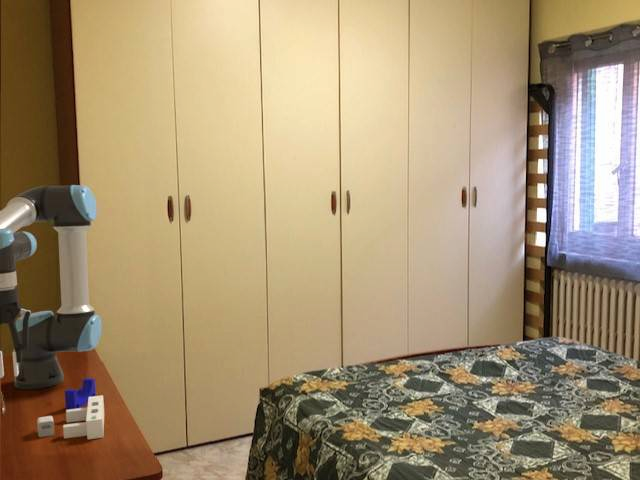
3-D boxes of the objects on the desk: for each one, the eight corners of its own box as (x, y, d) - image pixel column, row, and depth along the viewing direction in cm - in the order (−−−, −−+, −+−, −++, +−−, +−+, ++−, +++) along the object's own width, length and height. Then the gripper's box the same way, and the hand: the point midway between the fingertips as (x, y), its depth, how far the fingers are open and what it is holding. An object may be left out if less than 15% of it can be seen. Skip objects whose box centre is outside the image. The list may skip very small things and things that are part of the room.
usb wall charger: (38, 437, 189) (37, 423, 189) (37, 428, 196) (36, 414, 195) (54, 434, 191) (53, 420, 190) (53, 426, 197) (52, 412, 197)
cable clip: (82, 397, 221) (81, 378, 221) (95, 397, 221) (94, 378, 220) (61, 410, 210) (60, 390, 209) (75, 411, 209) (74, 391, 208)
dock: (67, 416, 204) (66, 398, 204) (104, 411, 207) (103, 394, 206) (63, 442, 185) (61, 423, 184) (103, 437, 188) (102, 418, 187)
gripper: (-35, 293, 181) (-27, 383, 183) (33, 288, 185) (40, 376, 188) (-30, 288, 188) (-22, 375, 191) (36, 283, 192) (42, 368, 195)
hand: (9, 375), depth 189 cm, fingers open, 3 cm apart
